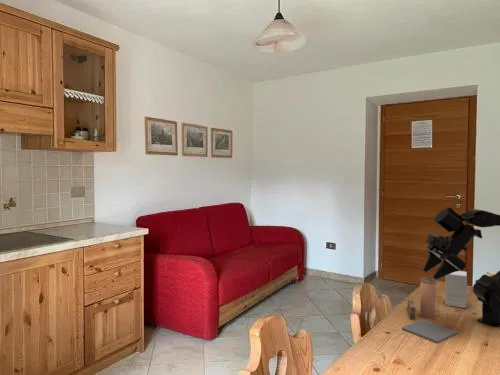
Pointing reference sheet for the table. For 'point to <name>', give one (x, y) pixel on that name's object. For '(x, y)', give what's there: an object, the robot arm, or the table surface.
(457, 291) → the supplement box
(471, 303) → the table surface
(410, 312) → the walnut rail
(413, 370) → the table surface
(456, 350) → the table surface
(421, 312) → the terracotta jar
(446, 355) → the table surface
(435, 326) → the dark grey mat
